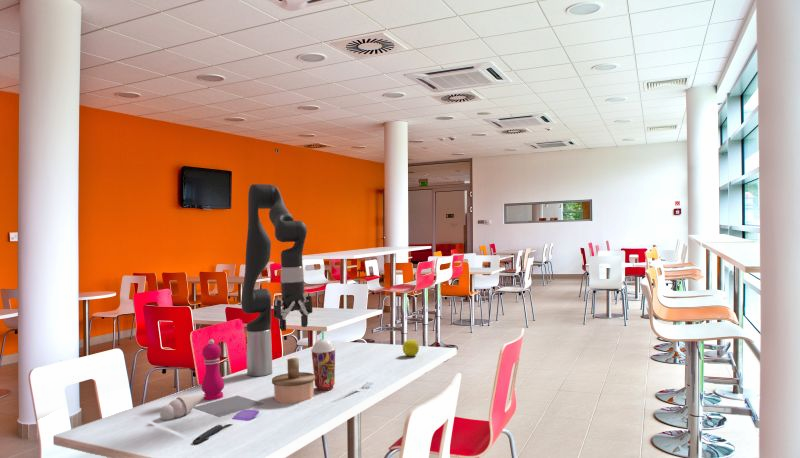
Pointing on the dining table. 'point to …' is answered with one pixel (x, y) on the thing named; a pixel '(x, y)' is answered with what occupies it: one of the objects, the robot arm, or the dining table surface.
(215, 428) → the spatula
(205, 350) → the pepper mill
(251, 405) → the mat
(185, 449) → the dining table surface
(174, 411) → the ice cream cone
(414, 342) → the tennis ball
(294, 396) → the bowl
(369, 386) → the fork
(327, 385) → the smoothie
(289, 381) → the lid
